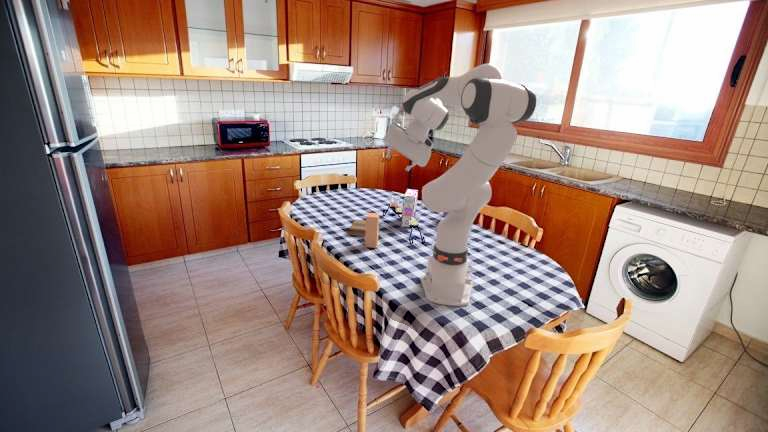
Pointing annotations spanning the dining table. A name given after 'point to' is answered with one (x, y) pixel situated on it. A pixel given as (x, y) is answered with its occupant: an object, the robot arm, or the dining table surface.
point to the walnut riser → (358, 228)
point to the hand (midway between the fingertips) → (396, 164)
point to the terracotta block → (372, 230)
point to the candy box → (409, 206)
